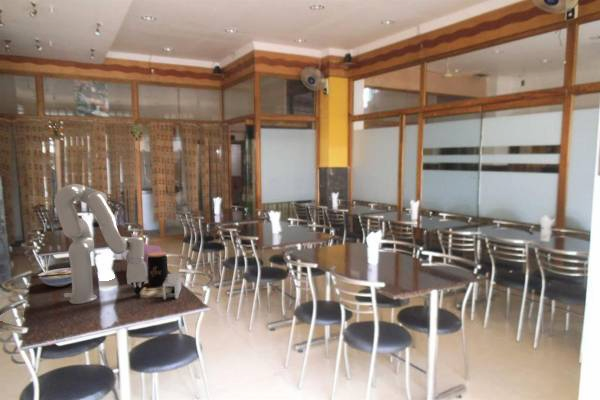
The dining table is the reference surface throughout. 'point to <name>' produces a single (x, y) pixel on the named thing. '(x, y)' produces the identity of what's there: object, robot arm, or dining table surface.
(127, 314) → the dining table surface
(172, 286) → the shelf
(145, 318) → the dining table surface
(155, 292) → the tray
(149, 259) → the coffee jar
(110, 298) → the dining table surface
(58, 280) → the ramen bowl
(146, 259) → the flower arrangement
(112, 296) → the dining table surface
